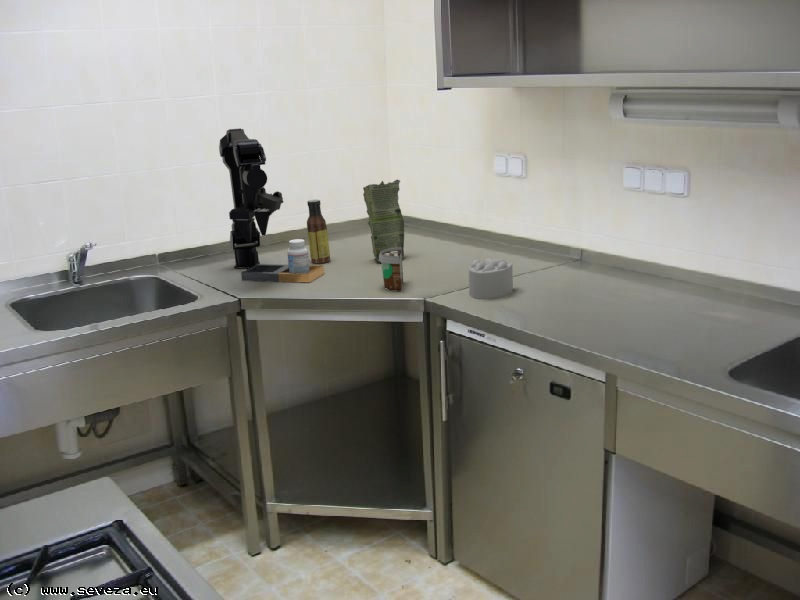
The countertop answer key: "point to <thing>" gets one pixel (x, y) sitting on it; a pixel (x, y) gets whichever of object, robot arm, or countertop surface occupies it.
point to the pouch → (384, 216)
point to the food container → (392, 268)
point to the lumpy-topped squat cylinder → (490, 278)
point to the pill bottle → (298, 257)
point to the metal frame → (280, 273)
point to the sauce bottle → (317, 234)
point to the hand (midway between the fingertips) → (256, 238)
